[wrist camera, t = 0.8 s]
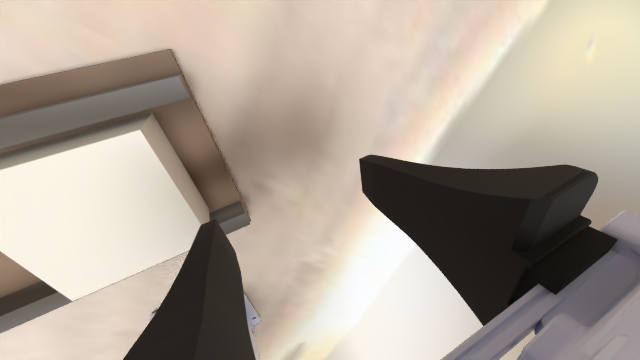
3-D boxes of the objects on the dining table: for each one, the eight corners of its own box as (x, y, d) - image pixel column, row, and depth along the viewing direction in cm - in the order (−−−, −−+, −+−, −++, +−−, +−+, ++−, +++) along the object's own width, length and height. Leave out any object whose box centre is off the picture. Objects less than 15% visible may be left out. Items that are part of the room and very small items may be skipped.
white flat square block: (208, 208, 19) (211, 240, 16) (91, 255, 17) (66, 303, 13) (152, 112, 14) (140, 129, 11) (-18, 159, 12) (-94, 196, 9)
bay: (249, 215, 22) (260, 251, 18) (-96, 362, 16) (-195, 467, 12) (170, 49, 14) (161, 48, 10) (-570, 205, 8) (-1323, 357, 4)
